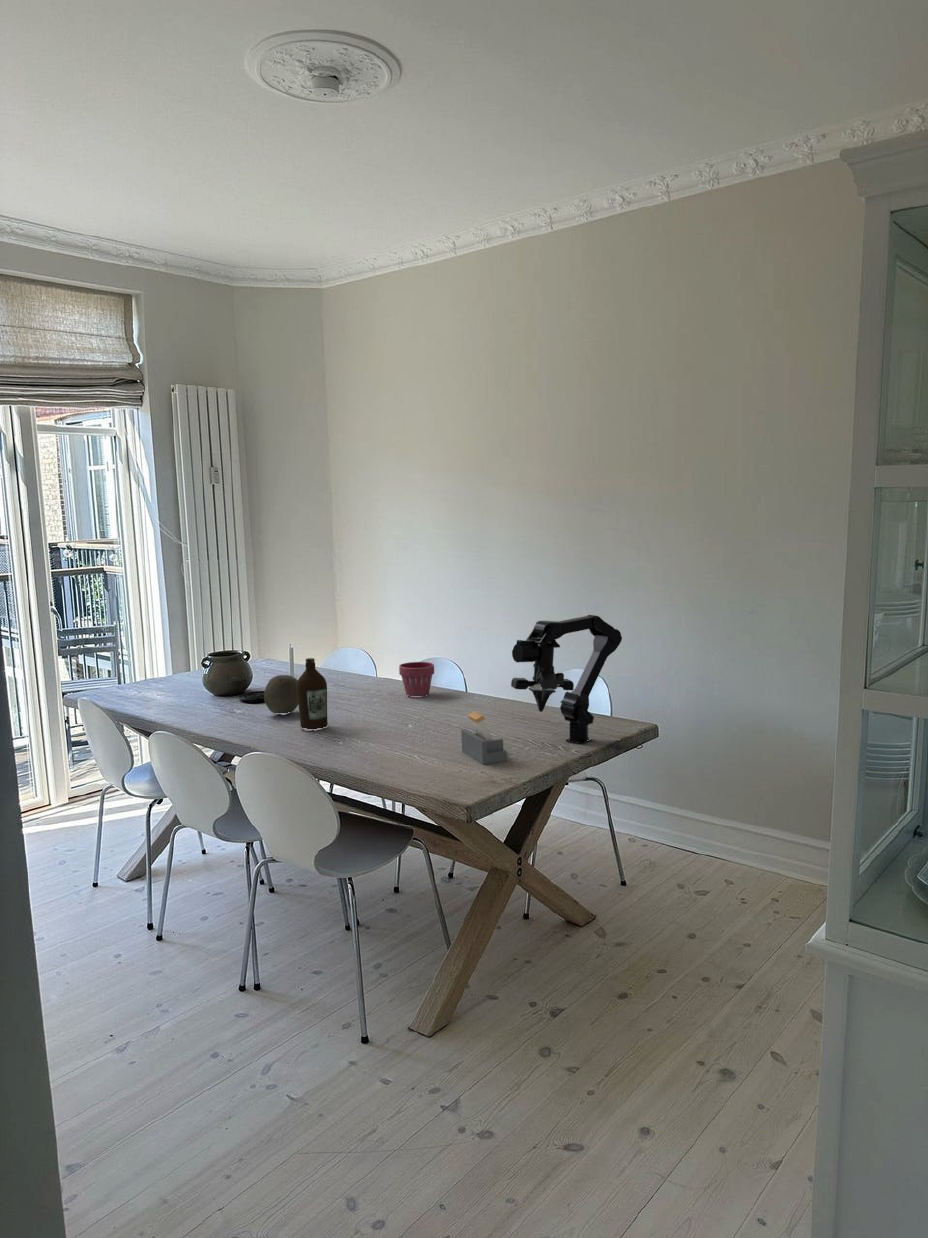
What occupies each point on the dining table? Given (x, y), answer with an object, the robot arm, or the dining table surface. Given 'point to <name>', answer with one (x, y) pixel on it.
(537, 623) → the robot arm
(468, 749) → the breaker box
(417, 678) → the plant pot
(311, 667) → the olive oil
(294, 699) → the cantaloupe
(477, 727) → the breaker lever
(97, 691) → the dining table surface
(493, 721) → the dining table surface
